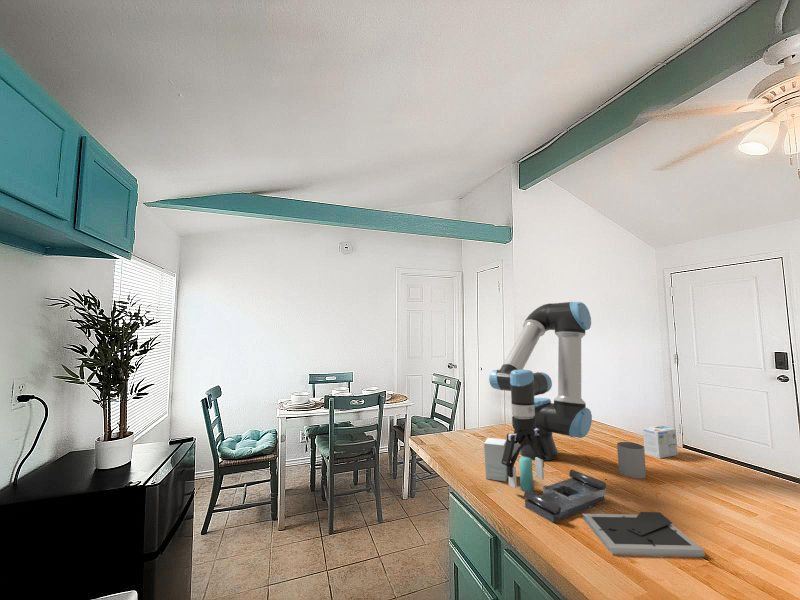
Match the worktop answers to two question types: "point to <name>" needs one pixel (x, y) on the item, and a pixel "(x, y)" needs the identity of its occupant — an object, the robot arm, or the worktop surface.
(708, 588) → the worktop surface
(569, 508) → the plate with side rollers
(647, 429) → the light bulb box
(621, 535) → the picture frame
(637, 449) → the cup
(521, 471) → the pin
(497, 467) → the supplement box
